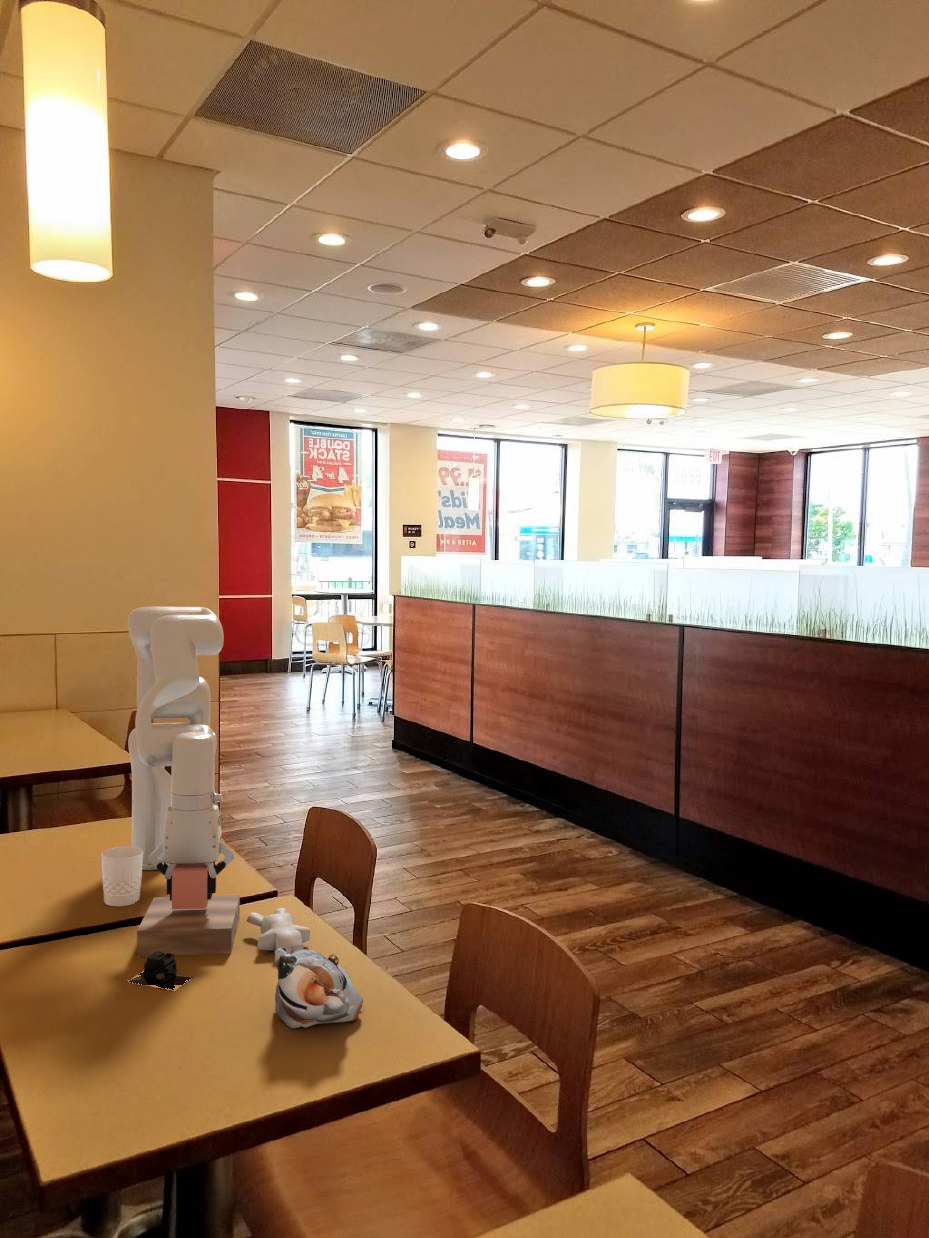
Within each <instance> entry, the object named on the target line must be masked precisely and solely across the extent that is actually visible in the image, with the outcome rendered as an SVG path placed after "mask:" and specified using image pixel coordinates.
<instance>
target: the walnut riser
mask: <svg viewBox="0 0 929 1238" xmlns="http://www.w3.org/2000/svg"><path fill="white" fill-rule="evenodd" d="M240 898H241V896H240V895H236V894H235V895H212V897H211V900H209V901H208V904H207V907H206V909H172V900H170V896H164V897H163V896H161V897H160V896H159V897H157V896H156V897H153V898H152V901H151V903H150V905H149V907H148V908H147V911H146V912H145V914H144V916H143V918H142V920H141V923H140V925H139V927H138V928H137V931H136V957H137V956H141V957H148V956H150V955H151V954H153V953H155V952H156V951H159V952H164V953H165V954H167V953H170V954H175V956H194V955H195V956H196V955H198V956H201V955H203V956H204V955H228V954H229V955H231V954H232V952H233V948H234V944H235V938H236V934H237V931H238V927H239V922H240V915H241V914H240V911H241V910H240V907H241V906H240V905H241V901H240V900H241V899H240ZM165 954H164V955H165Z"/></svg>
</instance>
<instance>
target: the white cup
mask: <svg viewBox="0 0 929 1238" xmlns="http://www.w3.org/2000/svg"><path fill="white" fill-rule="evenodd" d="M100 854H101V876H102V890H103V902H104V904H105V905H107V906H110V907H117V908H119V907H126V906H131V905H134V904H136V903H137V901H138V900H139V901H140V897H141V887H142V879H143V870H142V864H143V850H142V849H141V848H139V847H133V846H132V845H130V846H129V845H126V846H115V847H110V848H108V849H107V848H106V849H105V850H103V851H102V852H101V853H100ZM139 901H138V902H139ZM135 902H136V903H135Z"/></svg>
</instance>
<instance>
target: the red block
mask: <svg viewBox="0 0 929 1238" xmlns="http://www.w3.org/2000/svg"><path fill="white" fill-rule="evenodd" d="M208 877H209V872H208V867H206V865H205V863H203V864H176V867H175V868H174V869H173V871H172V909H206V907H207V904H208V901H209V900H208V899H207V885H208Z"/></svg>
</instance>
